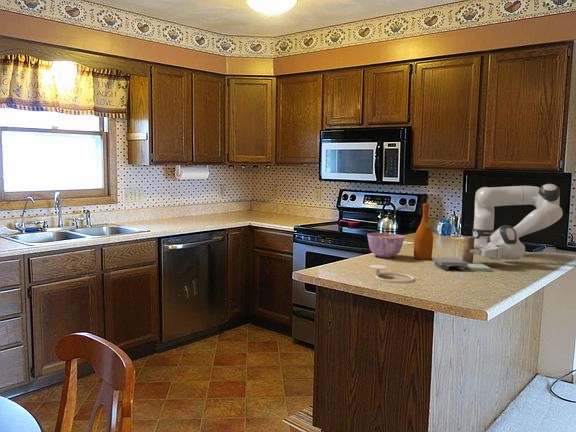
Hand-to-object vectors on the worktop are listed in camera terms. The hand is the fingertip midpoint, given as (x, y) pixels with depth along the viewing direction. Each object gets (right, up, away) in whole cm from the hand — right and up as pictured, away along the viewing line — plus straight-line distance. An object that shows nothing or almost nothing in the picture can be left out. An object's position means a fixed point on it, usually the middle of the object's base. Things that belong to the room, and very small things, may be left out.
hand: (466, 249), depth 254 cm
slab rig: (-13, -8, -11) cm, 19 cm away
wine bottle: (-19, -6, +13) cm, 24 cm away
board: (+1, -9, -10) cm, 13 cm away
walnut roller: (+1, -8, +1) cm, 8 cm away
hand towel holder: (-47, -10, -38) cm, 61 cm away
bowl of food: (-40, -5, +15) cm, 43 cm away
